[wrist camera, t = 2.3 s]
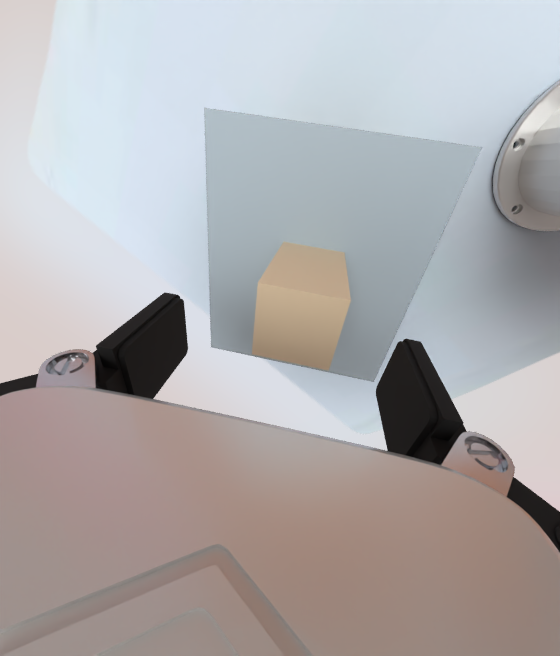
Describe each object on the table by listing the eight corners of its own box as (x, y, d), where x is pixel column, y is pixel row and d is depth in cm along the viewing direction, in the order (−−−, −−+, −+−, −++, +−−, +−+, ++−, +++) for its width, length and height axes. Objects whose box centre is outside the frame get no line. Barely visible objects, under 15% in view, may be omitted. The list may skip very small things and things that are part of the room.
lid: (463, 149, 15) (609, 133, 7) (370, 364, 24) (388, 461, 16) (219, 114, 16) (110, 67, 8) (220, 333, 25) (169, 409, 17)
